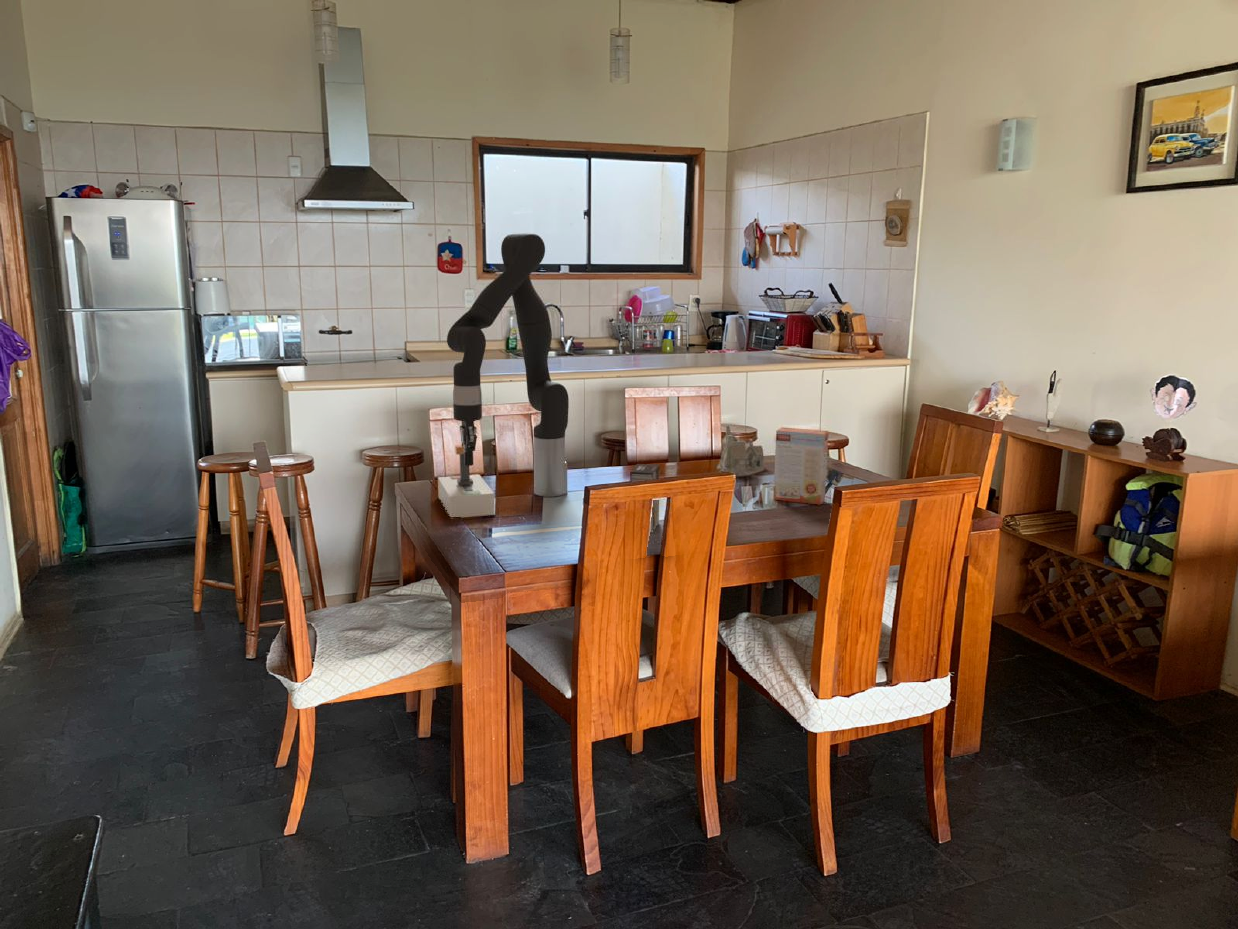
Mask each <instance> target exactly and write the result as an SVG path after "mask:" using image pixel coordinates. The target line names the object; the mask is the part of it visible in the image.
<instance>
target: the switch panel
mask: <svg viewBox="0 0 1238 929" xmlns="http://www.w3.org/2000/svg"><path fill="white" fill-rule="evenodd" d="M457 479H460V475H451V476H449V475H448V476H438V477H437V486H438V488H437V492H438V499H439V500H441V501H440V502H441V504H442V503H443V504H442V506H443V508H444V507H445V508H444V509H445V511H446V510H447V511H446V513H447V515H448V514H449V515H448V516H450V517H461V518H471V517H480V516H481V517H483V516H484V517H485V516H494V515H496V514H495V513H496V512H495V511H496V510H495V492H494V491H493V490H492V489H491V488H490V486H489V485H488V484H487V482H486V481H485V479H483V477H482V476H481V475H480V474H470V479H472V480H473V485H460V486H459V485H458V484H457ZM450 517H449V518H450Z"/></svg>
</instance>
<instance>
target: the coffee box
mask: <svg viewBox="0 0 1238 929" xmlns="http://www.w3.org/2000/svg"><path fill="white" fill-rule="evenodd" d="M660 471H661V465H660V464H649V463H648V464H644V463H637V464H635V466H634V467H633V468H632V469H631V471H630V472H629V477H630V478H629V483H630V482H637V481H645V480H653V479H659V480H660V473H661V472H660ZM659 520H660V499H659V500H653V507H652V517H651V532H652V531H653V530H654V529H655V530H656V528H657V527H658V525H659V524H660V521H659ZM656 526H657V527H656ZM655 530H654V531H655Z"/></svg>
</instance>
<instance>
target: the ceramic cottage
mask: <svg viewBox="0 0 1238 929" xmlns="http://www.w3.org/2000/svg"><path fill="white" fill-rule="evenodd" d="M725 428H726V429H725V436H724V437H723V438H722V439H721V440H722V441H721V442H722V451H721V455H720V461H719V463H718V464H717V466H716V469H717V470H718V469H722V470H720V471H725V472H734V473H735V474H736V476H735V477H745V476H751V475H754V474H756V473H760V472H763V471H765V466H764V465H763V463H764V460H765V458H764V457H765V456H764V449H763V446H762V445H754V440H753V438H749V439H748V442H746V441H745V440H739V439H738V438H737V437H736V436H735V435H734V434H733V433H732V432H731V428H730V424H727V425H725ZM720 471H719V472H720Z"/></svg>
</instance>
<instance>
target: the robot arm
mask: <svg viewBox="0 0 1238 929" xmlns="http://www.w3.org/2000/svg"><path fill="white" fill-rule="evenodd" d="M500 249H501V250H500V252H501V257H502V258H501V259H502V262H503V266H504V271H503V272H502V273H501V274H500V275H498V276H497V277H496V278H494V280H492V281H491V282H490V283H489V284H487V285H486V286H485V287H484V289H483V290H482V291H481V292H480V293H479V295H478V296H477V298H476V299H475V300H474V302H473V303H472V306H470V308H469V309H468V311H466V312H465V313H464V314H462V316H460V318H458V320H456V321H455V322H454V323H453V324H452V326H451V327H450V329H449V330H448V332H447V336H446V343H447V346H448V348H449V349H450V350H451V351H452V352H455V353H461V354H463V357H462V361H459V362H457V363H455V364H454V365H453V389H452V390H453V391H452V401H453V402H452V403H453V405H452V406H453V407H452V408H453V419H454V420H455V421H458V422H461V425H459V432H460V442H461V445H462V447H463V451H464V464H465V465H466V466H469V467H470V466H474V452H475V451H476V447H477V446H476V445H477V438H478V435H477V430H478V428H477V426H476V425H475V421H480V420H481V419H482V418H483V402H482V400H483V398H482V397H483V396H482V395H483V394H482V386H481V368H482V364H483V360H484V356H485V350H486V346H487V344H486V343H487V339H486V336H485V333H484V332H483V329H487V328H489V327H491V326H492V325H493V324H494V322H495V321H496V319H497V318H498V316H499V314H500V313H501V312H502V310H503V308H504V307H505V305H506V303H508V301H509V299H510V298H511V297H512V301H513V306H514V311H515V317H516V325H517V329H518V334H519V339H520V344H521V351H522V357H523V361H524V369H525V376H526V378H525V379H526V390H527V392H526V393H527V399H528V402H529V404H530V406H531V408H533V409H534V410H535V411H538V412H540V421H539V423H538V424H536V425H535V426H534V427H533V432H532V434H533V484H534V485H533V487H534V488H533V492H534V495H536V496H540V497H549V498H550V497H559V496H563V495H567V494H568V463H567V461H566V429H567V428H568V424H569V409H570V408H569V407H570V406H569V404H570V402H569V400H570V399H569V394H568V390H567V388H566V387H565V386H564V385H563V384H561V383H559V382H555V381H552V379H551V375H550V371H549V365H548V364H549V363H548V361H549V360H548V357H549V352H550V348H551V345H552V339H553V338H552V337H553V333H552V332H553V331H552V330H553V329H552V324H551V319H550V314H549V310H548V308H547V307H546V304H545V303H544V301H543V300H542V298H541V297H540V296H539V294H538V292H537V291H536V289H535V287H534V286H533V282H532V280H531V277H530V275H531V274H532V273H533V272H534V271H535V270H536V269H537V268H538V266H540V264H541V263H542V261H543V259H544V257H545V254H546V246H545V242H544V240H543V239H542V237H541V236H540V235H538V234H536V233H531V232H530V233H529V232H526V233H525V232H524V233H511V234H508V235H506V236H505V237H504V238H503V240H502V242H501V246H500ZM566 493H567V494H566Z"/></svg>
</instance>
